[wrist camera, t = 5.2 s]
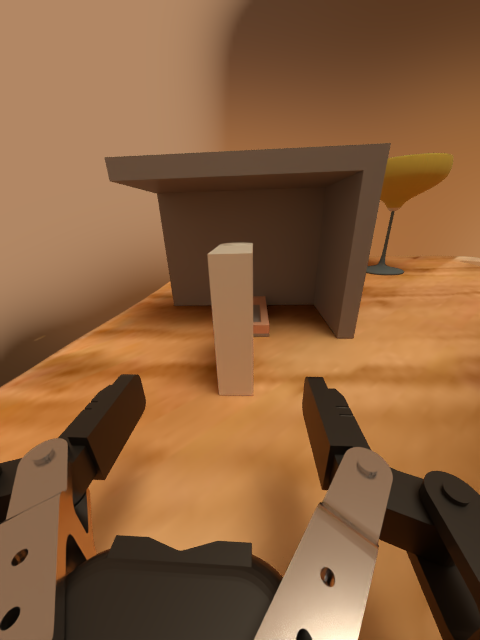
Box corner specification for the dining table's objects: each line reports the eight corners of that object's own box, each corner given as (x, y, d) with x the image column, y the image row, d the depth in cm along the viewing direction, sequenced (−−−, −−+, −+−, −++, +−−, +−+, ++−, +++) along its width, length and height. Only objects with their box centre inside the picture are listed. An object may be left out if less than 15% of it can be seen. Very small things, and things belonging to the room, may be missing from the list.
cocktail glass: (397, 264, 71) (420, 168, 61) (438, 278, 54) (479, 150, 44) (336, 265, 73) (349, 172, 63) (358, 278, 56) (380, 155, 46)
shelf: (353, 338, 29) (390, 143, 21) (144, 337, 31) (104, 157, 23) (322, 300, 42) (337, 172, 34) (177, 301, 44) (159, 180, 36)
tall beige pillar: (253, 395, 20) (252, 253, 15) (218, 395, 20) (207, 254, 15) (253, 348, 27) (252, 242, 23) (228, 348, 28) (222, 242, 23)
